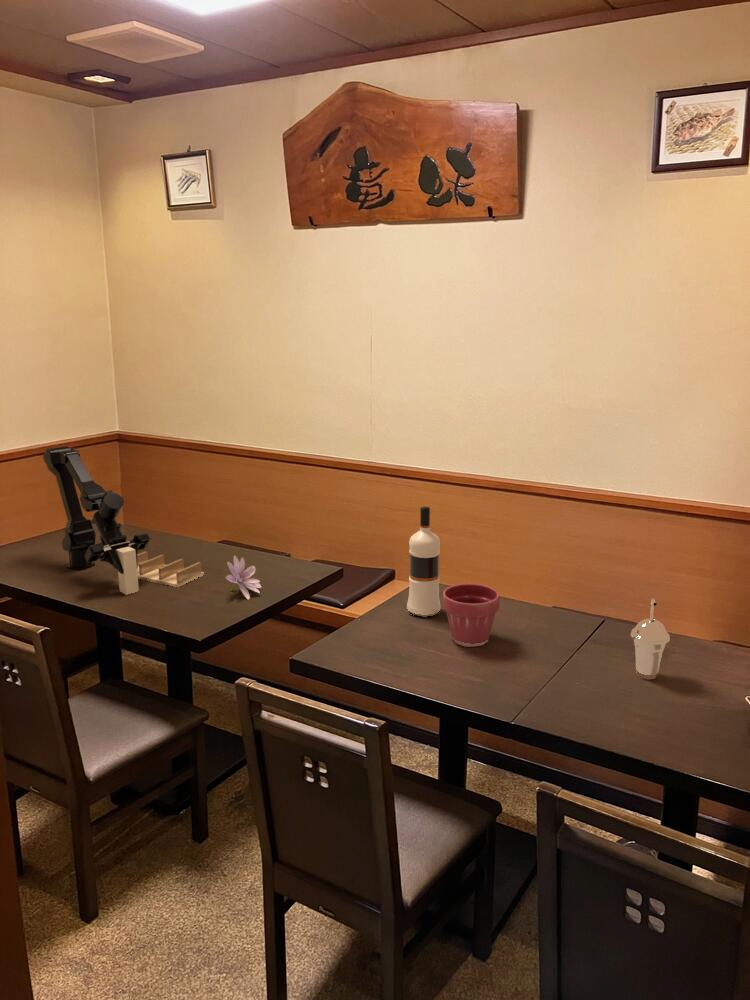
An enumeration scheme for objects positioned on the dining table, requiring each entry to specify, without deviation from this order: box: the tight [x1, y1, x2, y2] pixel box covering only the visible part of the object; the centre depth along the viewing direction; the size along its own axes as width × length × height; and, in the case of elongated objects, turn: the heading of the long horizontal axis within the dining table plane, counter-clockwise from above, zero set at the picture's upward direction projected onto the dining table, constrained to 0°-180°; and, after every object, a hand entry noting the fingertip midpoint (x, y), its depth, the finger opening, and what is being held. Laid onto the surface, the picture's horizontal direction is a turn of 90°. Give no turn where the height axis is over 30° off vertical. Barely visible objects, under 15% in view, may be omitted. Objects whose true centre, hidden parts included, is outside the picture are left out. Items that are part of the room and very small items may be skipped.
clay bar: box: [116, 547, 140, 596], centre depth 235 cm, size 4×4×13 cm
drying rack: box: [137, 551, 205, 589], centre depth 249 cm, size 23×12×4 cm, turn 62°
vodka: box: [406, 506, 442, 615], centre depth 217 cm, size 9×9×30 cm
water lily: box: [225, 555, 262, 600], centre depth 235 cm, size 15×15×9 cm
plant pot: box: [442, 583, 500, 644], centre depth 202 cm, size 14×14×13 cm
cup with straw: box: [630, 597, 671, 675], centre depth 182 cm, size 8×9×20 cm
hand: (129, 571), depth 234 cm, fingers closed on clay bar, 4 cm apart
